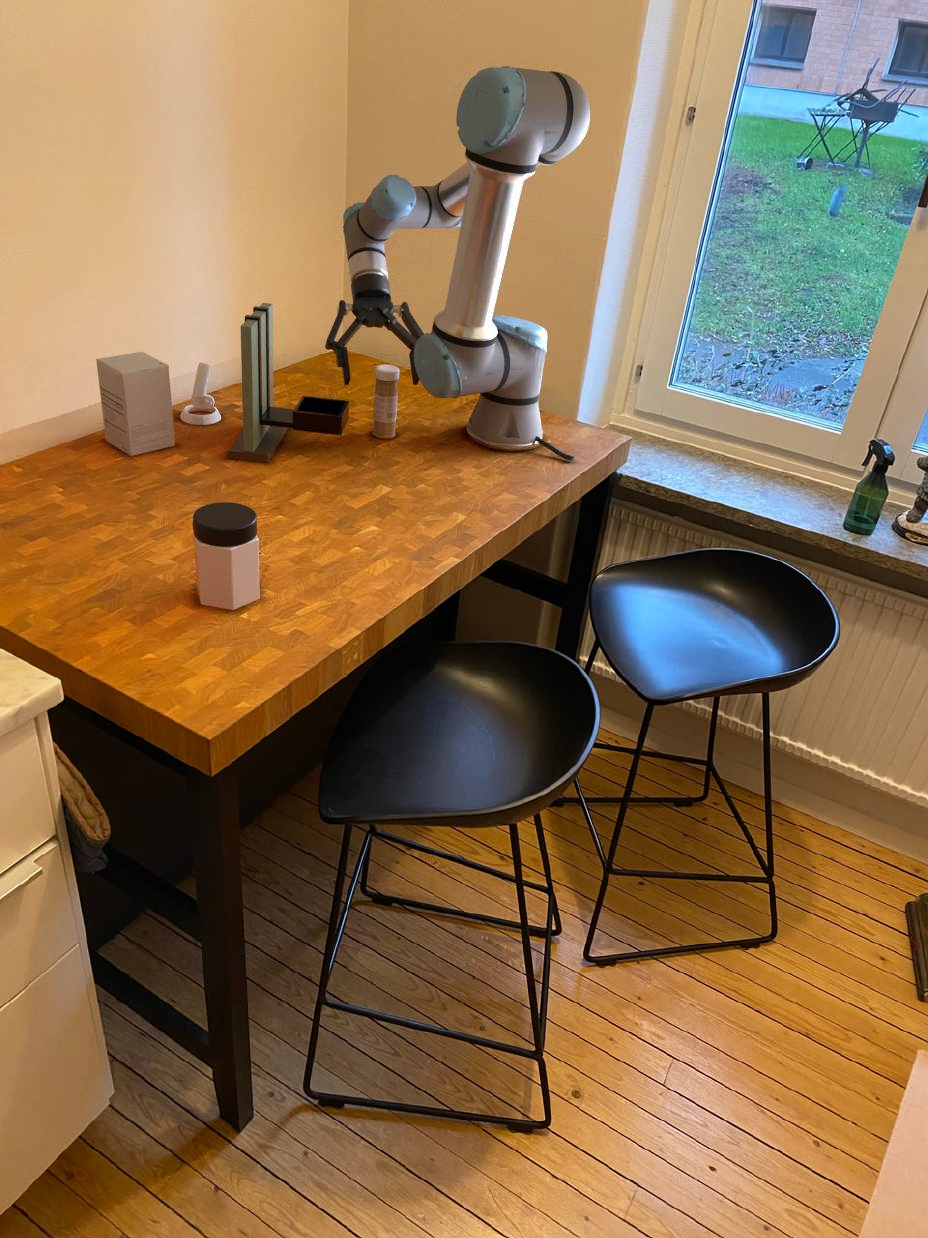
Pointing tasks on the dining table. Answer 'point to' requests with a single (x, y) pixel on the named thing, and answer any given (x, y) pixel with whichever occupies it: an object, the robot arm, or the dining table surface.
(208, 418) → the white vr controller
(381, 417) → the sprinkles bottle
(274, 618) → the dining table surface
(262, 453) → the green slatted stand
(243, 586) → the jar
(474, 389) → the robot arm
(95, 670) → the dining table surface
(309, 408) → the black tray bracket
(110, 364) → the rectangular carton
